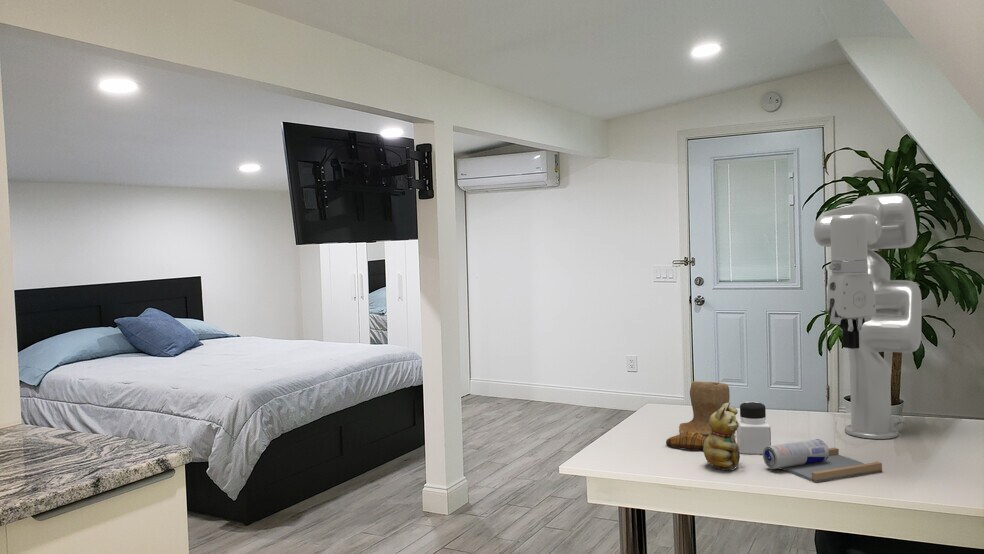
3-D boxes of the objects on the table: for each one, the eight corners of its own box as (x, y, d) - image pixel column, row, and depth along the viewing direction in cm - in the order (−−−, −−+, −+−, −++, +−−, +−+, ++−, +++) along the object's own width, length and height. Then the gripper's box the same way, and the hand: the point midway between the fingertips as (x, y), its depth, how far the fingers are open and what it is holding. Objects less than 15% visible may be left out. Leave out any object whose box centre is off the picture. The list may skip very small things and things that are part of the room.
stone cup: (730, 429, 202) (728, 376, 202) (738, 440, 190) (736, 384, 190) (674, 429, 204) (673, 377, 204) (679, 440, 192) (678, 385, 192)
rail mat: (835, 455, 173) (834, 447, 173) (882, 472, 160) (882, 463, 160) (772, 465, 168) (772, 456, 168) (815, 482, 155) (815, 473, 155)
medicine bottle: (771, 454, 177) (770, 406, 176) (741, 454, 178) (739, 406, 178) (766, 446, 183) (765, 400, 183) (737, 446, 185) (735, 400, 185)
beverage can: (812, 444, 171) (758, 452, 167) (823, 434, 168) (769, 442, 163) (822, 464, 168) (768, 472, 164) (834, 455, 165) (779, 463, 160)
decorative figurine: (736, 474, 162) (734, 408, 162) (699, 470, 166) (697, 406, 166) (743, 462, 171) (741, 400, 170) (708, 459, 175) (706, 398, 174)
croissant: (662, 450, 185) (662, 431, 185) (668, 443, 191) (668, 425, 191) (717, 455, 179) (716, 435, 179) (721, 448, 185) (720, 428, 185)
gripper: (835, 270, 159) (837, 352, 160) (888, 267, 163) (890, 347, 164) (810, 269, 166) (812, 348, 167) (862, 266, 171) (864, 343, 171)
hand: (851, 347), depth 165 cm, fingers closed
